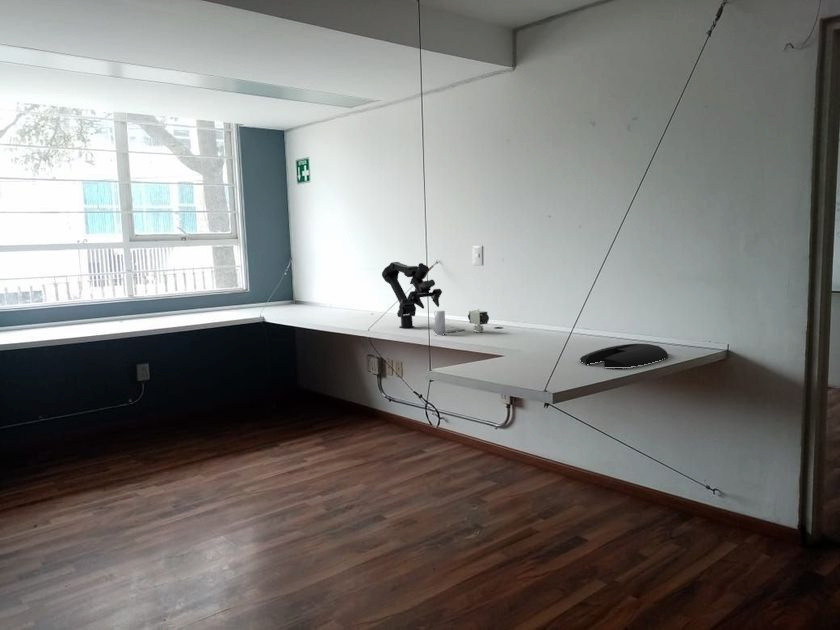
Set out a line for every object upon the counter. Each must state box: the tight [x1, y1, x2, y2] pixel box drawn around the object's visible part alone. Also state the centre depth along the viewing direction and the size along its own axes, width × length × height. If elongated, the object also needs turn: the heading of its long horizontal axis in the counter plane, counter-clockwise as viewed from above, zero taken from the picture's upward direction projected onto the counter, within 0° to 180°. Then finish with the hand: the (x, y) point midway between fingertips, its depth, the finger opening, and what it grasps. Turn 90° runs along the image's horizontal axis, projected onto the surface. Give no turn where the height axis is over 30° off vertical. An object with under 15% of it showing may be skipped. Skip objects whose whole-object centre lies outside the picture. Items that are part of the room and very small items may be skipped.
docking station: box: [579, 343, 669, 367], centre depth 270 cm, size 25×40×5 cm, turn 129°
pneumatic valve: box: [467, 308, 490, 333], centre depth 351 cm, size 6×12×12 cm, turn 35°
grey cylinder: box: [434, 310, 447, 336], centre depth 348 cm, size 6×6×12 cm
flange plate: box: [433, 326, 466, 334], centre depth 360 cm, size 12×12×1 cm
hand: (431, 307), depth 354 cm, fingers open, 9 cm apart
